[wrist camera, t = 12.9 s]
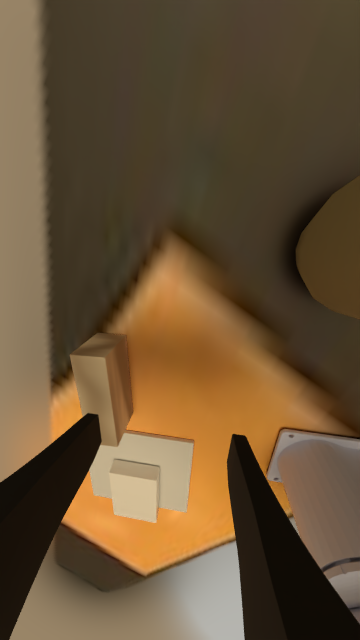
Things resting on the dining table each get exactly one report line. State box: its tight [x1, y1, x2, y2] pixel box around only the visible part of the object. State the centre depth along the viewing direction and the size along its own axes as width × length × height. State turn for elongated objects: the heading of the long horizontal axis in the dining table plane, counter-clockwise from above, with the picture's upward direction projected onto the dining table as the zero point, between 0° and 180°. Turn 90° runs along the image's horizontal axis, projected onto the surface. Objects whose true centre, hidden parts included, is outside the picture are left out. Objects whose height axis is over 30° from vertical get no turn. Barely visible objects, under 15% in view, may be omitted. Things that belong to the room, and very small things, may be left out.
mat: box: [89, 430, 194, 513], centre depth 26 cm, size 14×14×1 cm
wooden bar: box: [70, 333, 133, 447], centre depth 19 cm, size 3×10×4 cm, turn 179°
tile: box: [109, 460, 160, 523], centre depth 26 cm, size 6×2×9 cm
